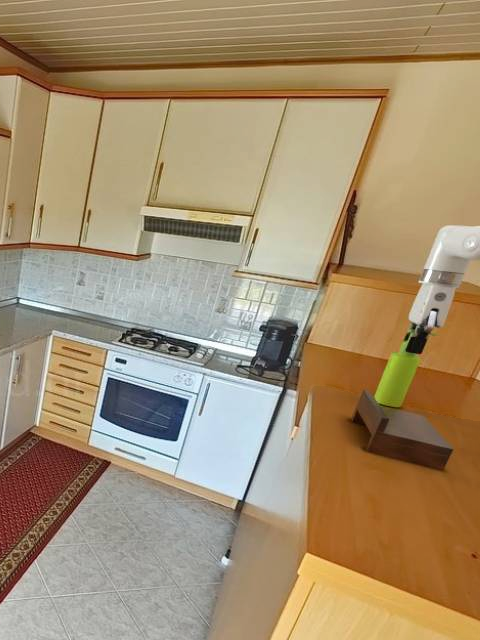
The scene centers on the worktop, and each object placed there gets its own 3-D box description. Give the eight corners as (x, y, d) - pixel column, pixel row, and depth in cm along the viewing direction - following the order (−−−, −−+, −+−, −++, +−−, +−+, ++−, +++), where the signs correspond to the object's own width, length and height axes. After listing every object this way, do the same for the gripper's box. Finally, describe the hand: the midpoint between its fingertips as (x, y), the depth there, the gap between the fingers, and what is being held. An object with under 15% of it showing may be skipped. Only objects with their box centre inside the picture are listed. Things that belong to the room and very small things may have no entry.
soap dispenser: (409, 409, 126) (441, 334, 119) (377, 404, 128) (407, 330, 121) (399, 402, 131) (430, 330, 124) (369, 397, 133) (397, 325, 126)
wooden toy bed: (413, 435, 111) (429, 403, 108) (442, 472, 94) (461, 435, 91) (350, 420, 116) (363, 389, 113) (366, 452, 99) (382, 417, 96)
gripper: (473, 284, 110) (439, 361, 116) (449, 278, 124) (419, 348, 130) (431, 279, 113) (400, 354, 119) (411, 274, 127) (384, 342, 133)
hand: (410, 350), depth 125 cm, fingers closed on soap dispenser, 3 cm apart
